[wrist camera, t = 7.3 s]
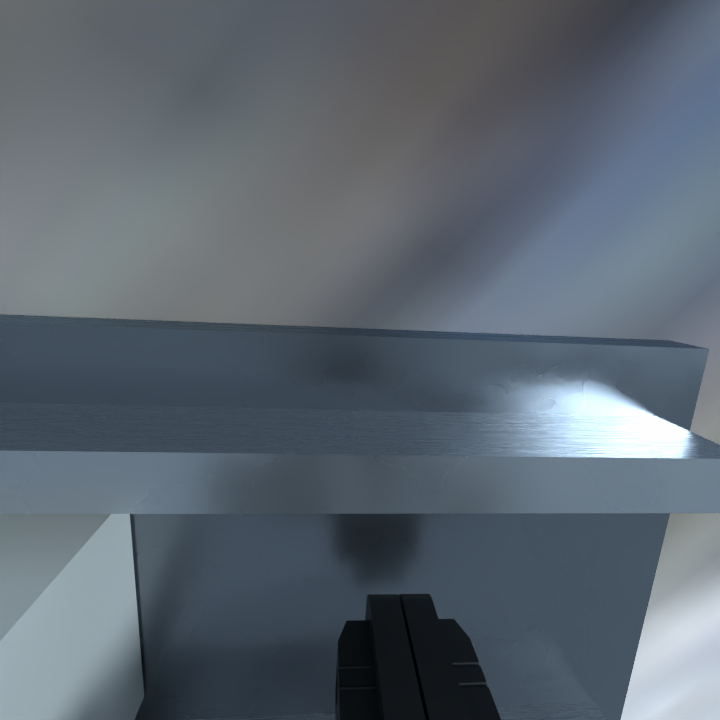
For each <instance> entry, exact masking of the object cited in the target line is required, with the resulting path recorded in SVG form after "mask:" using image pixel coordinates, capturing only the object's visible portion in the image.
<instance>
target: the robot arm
mask: <svg viewBox="0 0 720 720" xmlns="http://www.w3.org/2000/svg"><path fill="white" fill-rule="evenodd" d="M335 720H501V718H500V715H499V713H498V710H497V708H496V705H495V702H494V700H493V697H492V694H491V692H490V689H489V687H487V683H486V679H485V676H484V674H483V671H482V668H481V666H479V660H478V658H477V655H476V653H475V650H474V647H473V645H472V642H471V640H470V638H469V636H468V635H467V634H466V633H465V632H464V630H463V629H462V628H461V627H460V626H459V624H458V623H457V622H456V621H455V619H438V616H437V613H436V609H435V606H434V603H433V600H432V597H431V595H430V594H399V596H398V594H368V595H367V600H366V613H365V620H352V621H346V623H345V625H344V628H343V630H342V632H341V635H340V637H339V640H338V649H337V667H336V685H335Z"/></svg>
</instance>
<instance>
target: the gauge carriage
mask: <svg viewBox="0 0 720 720" xmlns="http://www.w3.org/2000/svg"><path fill="white" fill-rule="evenodd" d="M143 698H144V687H143V674H142V662H141V649H140V637H139V624H138V612H137V599H136V586H135V574H134V561H133V549H132V536H131V524H130V514H0V720H134V719H135V717H136V715H137V712H138V710H139V708H140V705H141V703H142V701H143Z"/></svg>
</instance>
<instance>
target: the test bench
mask: <svg viewBox="0 0 720 720" xmlns="http://www.w3.org/2000/svg"><path fill="white" fill-rule="evenodd" d="M708 352H709V349H707V348H702V347H697V346H693V345H688V344H683V343H679V342H674V341H666V340H641V339H615V338H589V337H564V336H538V335H512V334H487V333H461V332H435V331H410V330H384V329H359V328H333V327H307V326H282V325H256V324H230V323H205V322H179V321H153V320H128V319H102V318H76V317H51V316H25V315H0V514H130V524H131V536H132V549H133V561H134V574H135V586H136V599H137V612H138V624H139V637H140V649H141V662H142V674H143V687H144V698H143V701H142V703H141V705H140V708H139V710H138V712H137V715H136V717H135V719H134V720H335V685H336V667H337V649H338V640H339V637H340V635H341V632H342V630H343V628H344V625H345V623H346V621H352V620H365V613H366V600H367V595H368V594H398V596H399V594H430V595H431V597H432V600H433V603H434V606H435V609H436V613H437V616H438V619H455V621H456V622H457V623H458V624H459V626H460V627H461V628H462V629H463V630H464V632H465V633H466V634H467V635H468V636H469V638H470V640H471V642H472V645H473V647H474V650H475V653H476V655H477V658H478V660H479V666H481V668H482V671H483V674H484V676H485V679H486V683H487V687H489V689H490V692H491V694H492V697H493V700H494V702H495V705H496V708H497V710H498V713H499V715H500V718H501V720H620V719H621V715H622V711H623V706H624V702H625V698H626V694H627V690H628V686H629V681H630V677H631V673H632V669H633V665H634V661H635V656H636V652H637V648H638V644H639V640H640V636H641V631H642V627H643V623H644V619H645V615H646V610H647V606H648V602H649V598H650V594H651V590H652V585H653V581H654V577H655V573H656V569H657V565H658V560H659V556H660V552H661V548H662V544H663V540H664V535H665V531H666V527H667V523H668V519H669V515H670V513H720V445H719V444H717V443H715V442H712V441H710V440H708V439H706V438H703V437H701V436H699V435H697V434H695V433H692V432H690V427H691V423H692V419H693V414H694V410H695V406H696V402H697V398H698V394H699V389H700V385H701V381H702V377H703V373H704V369H705V364H706V360H707V356H708Z"/></svg>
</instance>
